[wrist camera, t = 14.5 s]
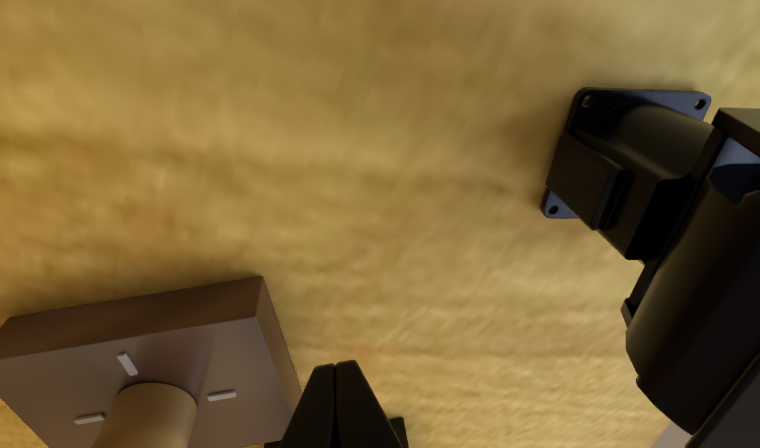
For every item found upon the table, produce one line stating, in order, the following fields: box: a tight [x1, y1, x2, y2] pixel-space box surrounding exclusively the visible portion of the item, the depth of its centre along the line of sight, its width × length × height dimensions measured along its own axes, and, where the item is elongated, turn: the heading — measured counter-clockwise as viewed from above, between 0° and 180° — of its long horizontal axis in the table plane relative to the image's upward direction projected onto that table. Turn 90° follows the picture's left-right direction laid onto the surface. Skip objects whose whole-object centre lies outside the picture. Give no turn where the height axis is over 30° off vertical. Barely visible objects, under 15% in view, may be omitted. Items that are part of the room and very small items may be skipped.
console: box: [0, 276, 303, 448], centre depth 23 cm, size 13×10×3 cm
